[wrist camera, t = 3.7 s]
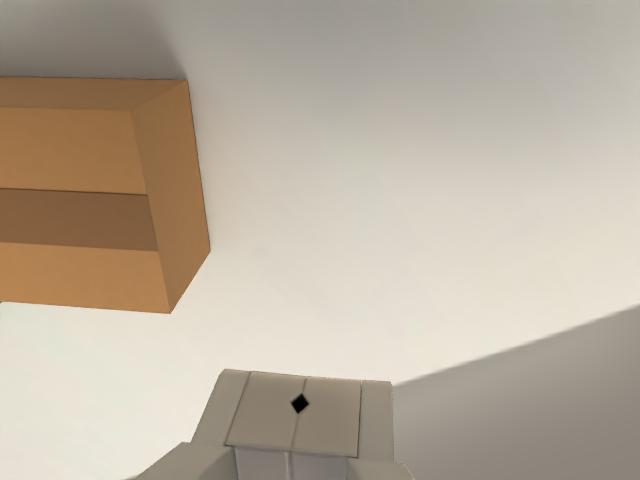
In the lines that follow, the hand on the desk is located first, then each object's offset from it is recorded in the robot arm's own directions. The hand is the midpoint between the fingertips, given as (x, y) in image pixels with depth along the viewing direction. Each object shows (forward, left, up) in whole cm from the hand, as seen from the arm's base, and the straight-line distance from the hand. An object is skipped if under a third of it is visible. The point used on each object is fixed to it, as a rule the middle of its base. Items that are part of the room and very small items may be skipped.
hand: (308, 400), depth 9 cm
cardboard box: (+9, -1, -10) cm, 13 cm away
